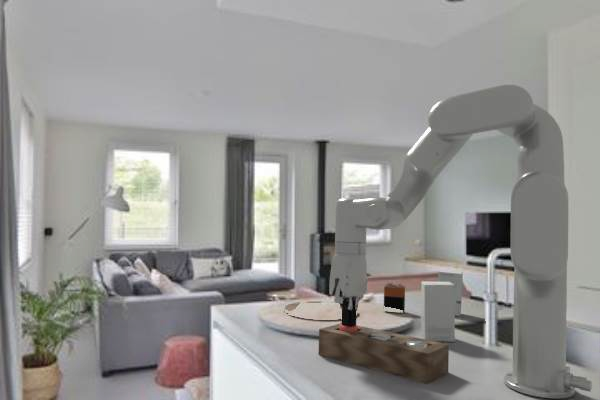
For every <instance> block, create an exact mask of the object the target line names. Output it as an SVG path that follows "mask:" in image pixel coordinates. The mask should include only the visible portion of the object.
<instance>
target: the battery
mask: <svg viewBox="0 0 600 400" xmlns="http://www.w3.org/2000/svg"><path fill="white" fill-rule="evenodd" d="M405 303H406V287H405V285H403V284H402V283H398V284H395V285H394V283H393V282H386V285H385V286H384V288H383V307H384V306H385V307H391V308H396V309H400V310H403V311H404V312H405V308H406V305H405Z"/></svg>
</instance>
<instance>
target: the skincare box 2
mask: <svg viewBox="0 0 600 400" xmlns="http://www.w3.org/2000/svg"><path fill="white" fill-rule="evenodd" d="M437 275H438V276H437V277H438V278H437V282H451V283H452V284H454V285H455V316H456V317H461V315H462V300H463V299H462V296H463V295H462V294H463V276H464V274H463V272H460V271H452V270H438V274H437Z"/></svg>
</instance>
